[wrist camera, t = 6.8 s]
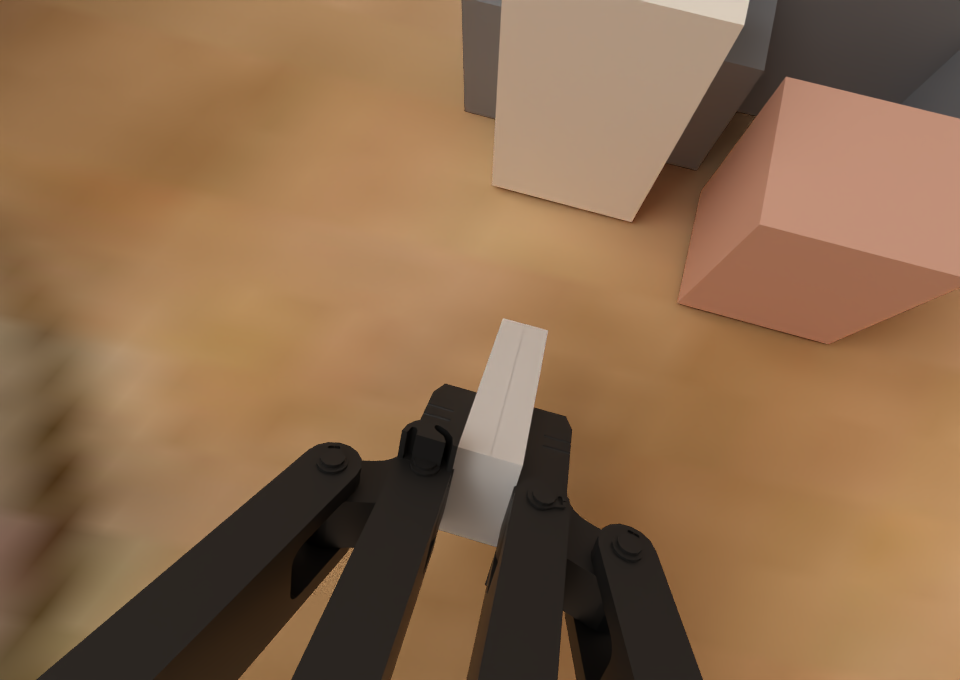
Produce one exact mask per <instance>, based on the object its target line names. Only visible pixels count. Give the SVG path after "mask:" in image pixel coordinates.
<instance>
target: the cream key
mask: <svg viewBox="0 0 960 680" xmlns="http://www.w3.org/2000/svg"><path fill="white" fill-rule="evenodd" d="M748 5H749V0H502V5H501V24H500V42H499V61H498V79H497V98H496V117H495V135H494V154H493V173H492V185H493V186H497V187H501V188H504V189H508V190H512V191H516V192H519V193H523V194H527V195H531V196H535V197H538V198H542V199H546V200H550V201H553V202H557V203H561V204H565V205H569V206H572V207H576V208H580V209H584V210H588V211H591V212H595V213H599V214H603V215H606V216H610V217H614V218H618V219H622V220H625V221H629V222H632V221H633V219H634V217H635V215H636V214H637V212H638V210H639V208H640V207H641V205H642V203H643V201H644V200H645V198H646V196H647V194H648V193H649V191H650V189H651V187H652V186H653V184H654V182H655V180H656V179H657V177H658V175H659V173H660V172H661V170H662V168H663V166H664V165H665V163H666V161H667V159H668V158H669V156H670V154H671V152H672V151H673V149H674V147H675V145H676V144H677V142H678V140H679V138H680V137H681V135H682V133H683V131H684V130H685V128H686V126H687V124H688V123H689V121H690V119H691V117H692V116H693V114H694V112H695V110H696V109H697V107H698V105H699V103H700V102H701V100H702V98H703V96H704V95H705V93H706V91H707V89H708V88H709V86H710V84H711V82H712V81H713V79H714V77H715V76H716V74H717V72H718V70H719V69H720V67H721V65H722V63H723V62H724V60H725V58H726V56H727V55H728V53H729V51H730V49H731V48H732V46H733V44H734V42H735V41H736V39H737V37H738V35H739V34H740V32H741V30H742V28H743V27H744V24H745V19H746V14H747V9H748Z"/></svg>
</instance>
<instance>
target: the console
mask: <svg viewBox="0 0 960 680" xmlns="http://www.w3.org/2000/svg"><path fill="white" fill-rule="evenodd" d="M501 5H502V0H462V32H463V69H464V106H465V111H466V112H470V113H474V114H478V115H482V116H486V117H490V118H494V119H495V117H496V98H497V79H498V61H499V42H500V24H501ZM785 77H790V78H794V79H798V80H803V81H807V82H811V83H815V84H819V85H823V86H827V87H831V88H835V89H840V90H844V91H848V92H852V93H856V94H860V95H864V96H868V97H873V98H877V99H881V100H885V101H889V102H893V103H897V104H901V105H905V106H910V107H914V108H918V109H922V110H926V111H930V112H934V113H938V114H942V115H947V116H951V117H955V118H959V119H960V0H749V5H748V9H747V14H746V19H745V24H744V27H743V28H742V30H741V32H740V34H739V35H738V37H737V39H736V41H735V42H734V44H733V46H732V48H731V49H730V51H729V53H728V55H727V56H726V58H725V60H724V62H723V63H722V65H721V67H720V69H719V70H718V72H717V74H716V76H715V77H714V79H713V81H712V82H711V84H710V86H709V88H708V89H707V91H706V93H705V95H704V96H703V98H702V100H701V102H700V103H699V105H698V107H697V109H696V110H695V112H694V114H693V116H692V117H691V119H690V121H689V123H688V124H687V126H686V128H685V130H684V131H683V133H682V135H681V137H680V138H679V140H678V142H677V144H676V145H675V147H674V149H673V151H672V152H671V154H670V156H669V158H668V159H667V161H666V163H669V164H673V165H677V166H681V167H685V168H689V169H693V170H697V169H698V167H699V166H700V164H701V163H702V161H703V160H704V158H705V157H706V155H707V154H708V153H709V151H710V150H711V148H712V147H713V145H714V144H715V142H716V141H717V139H718V138H719V136H720V135H721V133H722V132H723V130H724V129H725V128H726V126H727V125H728V123H729V122H730V120H731V119H732V117H733V116H734V114H735V113H736V111H738V112H742V113H746V114H750V115H754V116H757V115H758V114H759V112H760V111H761V110H762V108H763V107H764V106H765V104H766V103H767V101H768V100H769V99H770V97H771V96H772V95H773V93H774V92H775V91H776V89H777V88H778V87H779V85H780V84H781V83H782V81H783V80H784V79H785Z"/></svg>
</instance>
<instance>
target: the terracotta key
mask: <svg viewBox="0 0 960 680" xmlns="http://www.w3.org/2000/svg"><path fill="white" fill-rule="evenodd" d="M958 288H960V119H959V118H955V117H951V116H947V115H942V114H938V113H934V112H930V111H926V110H922V109H918V108H914V107H910V106H905V105H901V104H897V103H893V102H889V101H885V100H881V99H877V98H873V97H868V96H864V95H860V94H856V93H852V92H848V91H844V90H840V89H835V88H831V87H827V86H823V85H819V84H815V83H811V82H807V81H803V80H798V79H794V78H790V77H785V79H784V80H783V81H782V83H781V84H780V85H779V87H778V88H777V89H776V91H775V92H774V93H773V95H772V96H771V97H770V99H769V100H768V101H767V103H766V104H765V106H764V107H763V108H762V110H761V111H760V112H759V114H758V115H757V116H756V118H755V119H754V120H753V122H752V123H751V124H750V126H749V127H748V128H747V130H746V131H745V132H744V134H743V135H742V137H741V138H740V139H739V141H738V142H737V143H736V145H735V146H734V147H733V149H732V150H731V151H730V153H729V154H728V155H727V157H726V158H725V159H724V161H723V162H722V164H721V165H720V166H719V168H718V169H717V170H716V172H715V173H714V174H713V176H712V177H711V178H710V180H709V181H708V182H707V184H706V185H705V186H704V188H703V189H702V190H701V193H700V197H699V202H698V207H697V211H696V216H695V221H694V226H693V230H692V235H691V240H690V245H689V249H688V254H687V259H686V263H685V268H684V273H683V278H682V282H681V287H680V292H679V296H678V301H677V303H679V304H682V305H686V306H690V307H693V308H697V309H701V310H704V311H708V312H712V313H715V314H719V315H723V316H726V317H730V318H734V319H737V320H741V321H745V322H748V323H752V324H756V325H759V326H763V327H767V328H770V329H774V330H778V331H781V332H785V333H789V334H792V335H796V336H800V337H803V338H807V339H811V340H814V341H818V342H822V343H825V344H830V343H832V342H835V341H837V340H839V339H842V338H844V337H846V336H849V335H851V334H853V333H856V332H858V331H860V330H863V329H865V328H867V327H870V326H872V325H874V324H877V323H879V322H881V321H884V320H886V319H888V318H891V317H893V316H895V315H898V314H900V313H902V312H905V311H907V310H909V309H912V308H914V307H916V306H919V305H921V304H923V303H926V302H928V301H930V300H933V299H935V298H937V297H940V296H942V295H944V294H947V293H949V292H951V291H954V290H956V289H958Z"/></svg>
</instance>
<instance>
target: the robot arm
mask: <svg viewBox="0 0 960 680" xmlns="http://www.w3.org/2000/svg"><path fill="white" fill-rule="evenodd" d="M547 334H548V330H545V329H541V328H537V327H534V326H530V325H526V324H523V323H519V322H515V321H512V320H508V319H504V318H503V320H502V322H501V325H500V328H499V331H498V334H497V337H496V340H495V342H494V345H493V348H492V351H491V354H490V357H489V360H488V362H487V365H486V368H485V371H484V374H483V377H482V379H481V382H480V385H479V388H478V391H477V393H476V392H473V391H469V390H466V389H462V388H459V387H455V386H452V385H448V384H444V385H443V386H441V387H440V388H438V389H437V390H435V391H434V392H433V394H432V396H431V398H430V400H429V402H428V405H427V407H426V409H425V411H424V414H423V415H422V417H421V420H418V421H414V422H412V423H410V424H407V426H406V427H405V428H404V429H403V430H402V434H401V440H400V446H399V452H398V456H397V457H395V458H393V459H389V460H385V461H362V459H361V457H360V455H359V454H358V452H357V451H356V450H354V449H353V448H352V447H350V446H348V445H345V444H342V443H333V442H327V443H323V444H318V445H316V446H314V447H313V448H311V449H309V450H308V451H307V452H305V453H304V454H303V455H302V456H301V457H299V458H298V459H297V460H296V461H295V462H294V463H292V464H291V465H290V466H289V467H288V468H286V469H285V470H284V471H283V472H282V473H281V474H279V475H278V476H277V477H276V478H275V479H273V480H272V481H271V482H270V483H269V484H267V485H266V486H265V487H264V488H263V489H262V490H260V491H259V492H258V493H257V494H256V495H254V496H253V497H252V498H251V499H250V500H249V501H247V502H246V503H245V504H244V505H243V506H241V507H240V508H239V509H238V510H237V511H236V512H234V513H233V514H232V515H231V516H230V517H228V518H227V519H226V520H225V521H224V522H222V523H221V524H220V525H219V526H218V527H217V528H215V529H214V530H213V531H212V532H211V533H209V534H208V535H207V536H206V537H205V538H204V539H202V540H201V541H200V542H199V543H198V544H196V545H195V546H194V547H193V548H192V549H191V550H189V551H188V552H187V553H186V554H185V555H183V556H182V557H181V558H180V559H179V560H177V561H176V562H175V563H174V564H173V565H172V566H170V567H169V568H168V569H167V570H166V571H164V572H163V573H162V574H161V575H160V576H159V577H157V578H156V579H155V580H154V581H153V582H151V583H150V584H149V585H148V586H147V587H145V588H144V589H143V590H142V591H141V592H140V593H138V594H137V595H136V596H135V597H134V598H132V599H131V600H130V601H129V602H128V603H127V604H125V605H124V606H123V607H122V608H121V609H119V610H118V611H117V612H116V613H115V614H114V615H112V616H111V617H110V618H109V619H108V620H106V621H105V622H104V623H103V624H102V625H100V626H99V627H98V628H97V629H96V630H95V631H93V632H92V633H91V634H90V635H89V636H87V637H86V638H85V639H84V640H83V641H82V642H80V643H79V644H78V645H77V646H76V647H74V648H73V649H72V650H71V651H70V652H69V653H67V654H66V655H65V656H64V657H63V658H61V659H60V660H59V661H58V662H57V663H55V664H54V665H53V666H52V667H51V668H50V669H48V670H47V671H46V672H45V673H44V674H42V675H41V676H40V677H39V678H38V679H37V680H238V679H239V678H240V677H241V675H242V674H243V673H244V672H245V671H246V670H247V668H248V667H249V666H250V665H251V664H252V663H253V661H254V660H255V659H256V658H257V657H258V656H259V654H260V653H261V652H262V651H263V650H264V649H265V647H266V646H267V645H268V644H269V643H270V642H271V640H272V639H273V638H274V637H275V636H276V635H277V633H278V632H279V631H280V630H281V629H282V628H283V626H284V625H285V624H286V623H287V622H288V621H289V619H290V618H291V617H292V616H293V615H294V614H295V612H296V611H297V610H298V609H299V608H300V607H301V605H302V604H303V603H304V602H305V601H306V600H307V598H308V597H309V596H310V595H311V594H312V593H313V591H314V590H315V589H316V588H317V587H318V586H319V584H320V583H321V582H322V581H323V580H324V579H325V577H326V576H327V575H328V574H329V573H330V572H331V570H332V569H333V568H334V567H335V566H336V565H337V563H338V562H339V561H340V560H341V559H342V558H343V556H344V555H345V554H346V553H347V551H348V550H349V548H354V550H353V552H352V554H351V556H350V558H349V560H348V562H347V564H346V566H345V568H344V570H343V573H342V575H341V577H340V579H339V581H338V583H337V585H336V587H335V589H334V591H333V594H332V596H331V598H330V600H329V602H328V604H327V606H326V608H325V610H324V612H323V614H322V617H321V619H320V621H319V623H318V625H317V627H316V629H315V631H314V633H313V635H312V638H311V640H310V642H309V644H308V646H307V648H306V650H305V652H304V654H303V656H302V658H301V661H300V663H299V665H298V667H297V669H296V671H295V673H294V675H293V677H292V679H291V680H391V677H392V674H393V671H394V668H395V664H396V661H397V658H398V655H399V652H400V649H401V646H402V643H403V640H404V637H405V634H406V631H407V628H408V625H409V621H410V618H411V615H412V612H413V609H414V606H415V603H416V600H417V597H418V594H419V591H420V588H421V585H422V582H423V578H424V575H425V572H426V569H427V566H428V563H429V560H430V557H431V554H432V551H433V548H434V544H435V539H436V535H437V532H438V530H441V531H445V532H448V533H451V534H455V535H458V536H461V537H465V538H468V539H471V540H475V541H478V542H481V543H485V544H488V545H491V546H495V547H497V548H496V552H495V555H494V558H493V561H492V564H491V567H490V570H489V574H488V577H487V580H486V583H485V585H486V586H487V587H486V592H485V597H484V601H483V606H482V610H481V615H480V620H479V624H478V629H477V634H476V638H475V643H474V648H473V652H472V657H471V662H470V666H469V671H468V675H467V680H557V679H558V666H559V653H560V640H561V626H562V613H563V611H564V612H565V619H566V625H567V630H568V636H569V641H570V647H571V652H572V658H573V663H574V669H575V674H576V680H703V678H702V676H701V673H700V670H699V668H698V665H697V662H696V659H695V657H694V654H693V651H692V648H691V646H690V643H689V640H688V637H687V635H686V632H685V629H684V626H683V624H682V621H681V618H680V615H679V613H678V610H677V607H676V605H675V602H674V599H673V596H672V594H671V591H670V588H669V585H668V583H667V580H666V577H665V574H664V572H663V569H662V566H661V563H660V561H659V558H658V555H657V553H656V550H655V548H654V547H653V545H652V543H651V541H650V540H649V539H648V538H646V537H645V536H644V535H643V534H642V533H641V532H639V531H637V530H636V529H634V528H632V527H630V526H626V525H622V524H610V525H608V526H606V527H604V528H603V529H602V530H601V529H599V528H597V527H596V526H594V525H592V524H590V523H589V522H587V521H586V520H584V519H583V518H581V517H580V516H579V515H578V514H577V513H576V512H575V511H574V509H573V508H572V506H571V505H570V502H569V498H568V497H567V484H568V472H569V460H570V448H571V445H570V444H571V436H572V429H571V427H570V424H569V422H568V420H567V418H566V416H562V415H559V414H555V413H552V412H548V411H544V410H541V409H537V408H534V403H535V398H536V392H537V387H538V382H539V377H540V371H541V366H542V361H543V355H544V350H545V345H546V339H547Z"/></svg>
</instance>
